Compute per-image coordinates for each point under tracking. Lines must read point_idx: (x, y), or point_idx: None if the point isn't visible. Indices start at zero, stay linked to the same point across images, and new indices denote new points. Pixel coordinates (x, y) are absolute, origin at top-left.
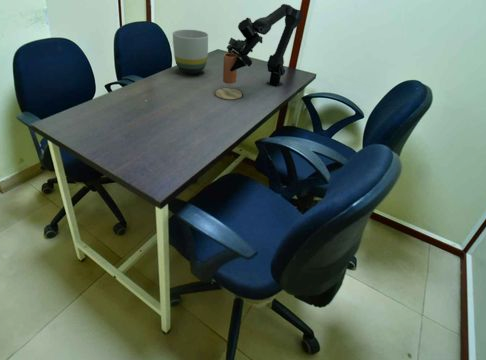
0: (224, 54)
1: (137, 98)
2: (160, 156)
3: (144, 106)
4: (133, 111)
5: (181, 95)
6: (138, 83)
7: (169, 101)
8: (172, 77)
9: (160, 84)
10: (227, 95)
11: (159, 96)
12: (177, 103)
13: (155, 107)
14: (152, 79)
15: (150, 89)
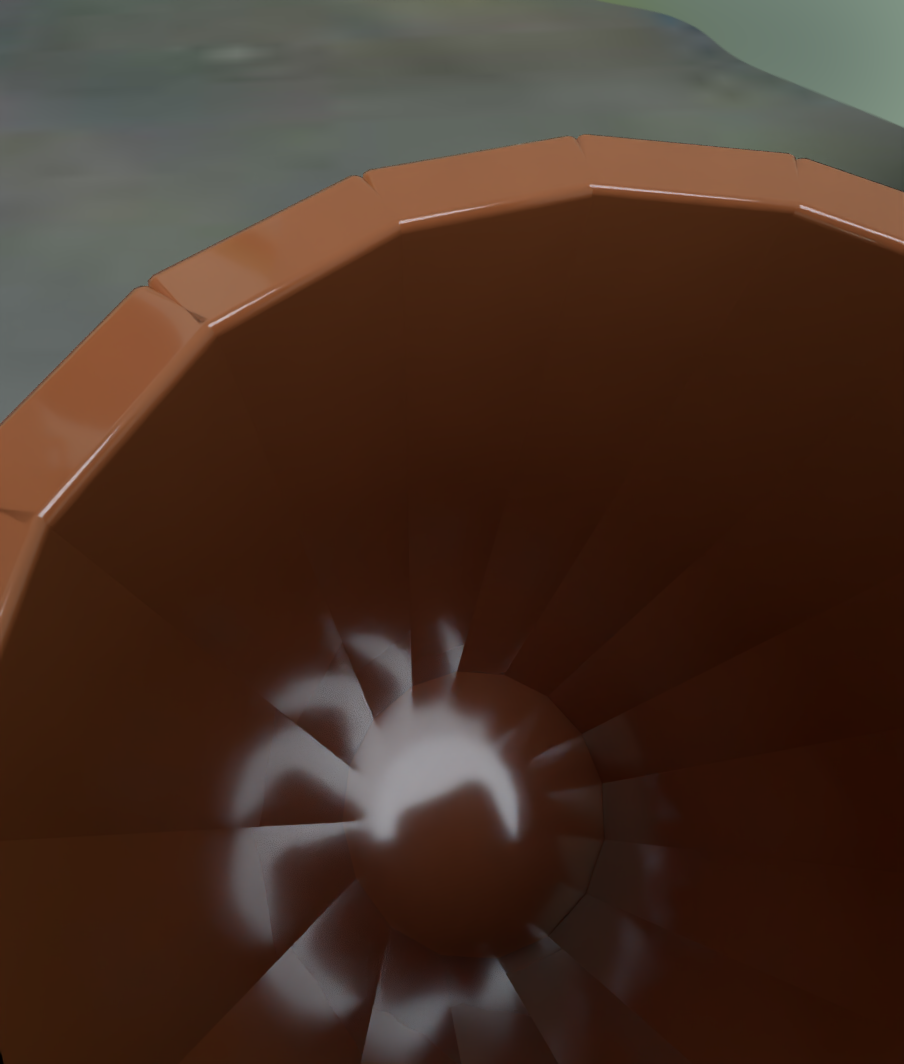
0: (722, 170)
1: (282, 12)
2: None
3: (123, 50)
4: (41, 6)
5: None
6: (583, 3)
7: (211, 181)
8: None
9: (602, 115)
10: None
11: (326, 118)
12: (158, 235)
13: (91, 105)
14: (700, 67)
15: (473, 65)
